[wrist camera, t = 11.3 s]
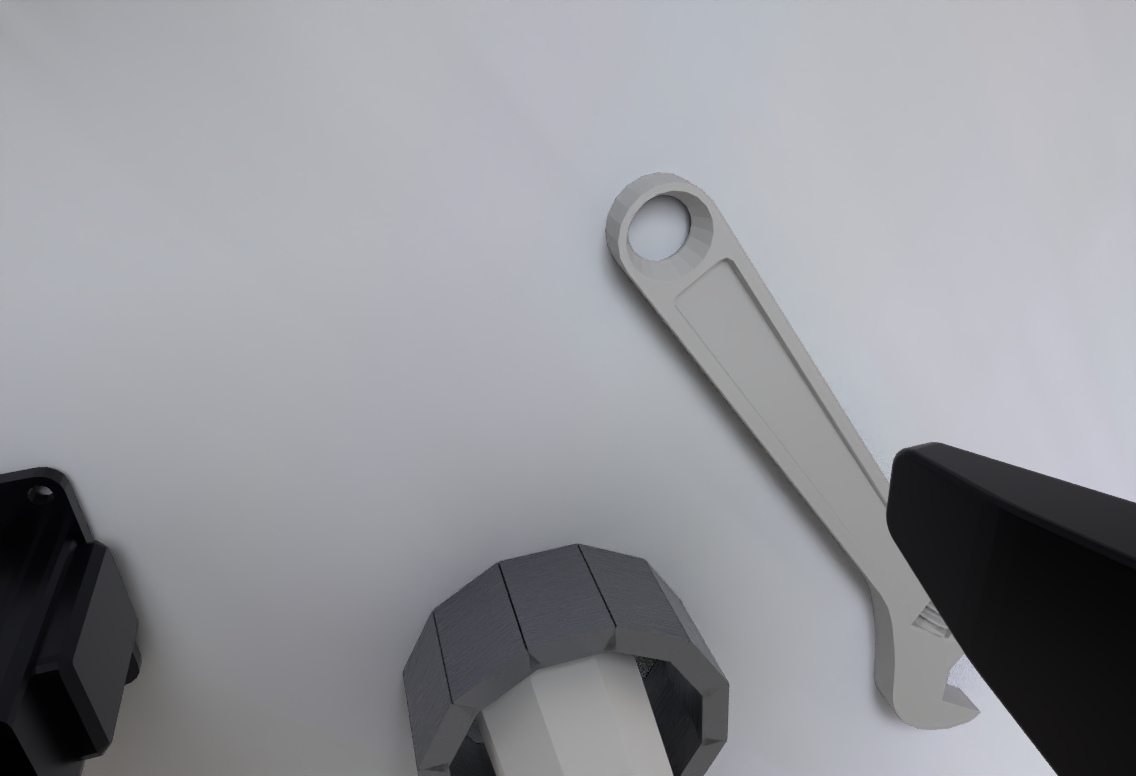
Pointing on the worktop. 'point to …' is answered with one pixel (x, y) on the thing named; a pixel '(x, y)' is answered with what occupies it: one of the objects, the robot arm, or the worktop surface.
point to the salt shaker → (576, 722)
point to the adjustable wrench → (795, 432)
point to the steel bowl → (560, 653)
